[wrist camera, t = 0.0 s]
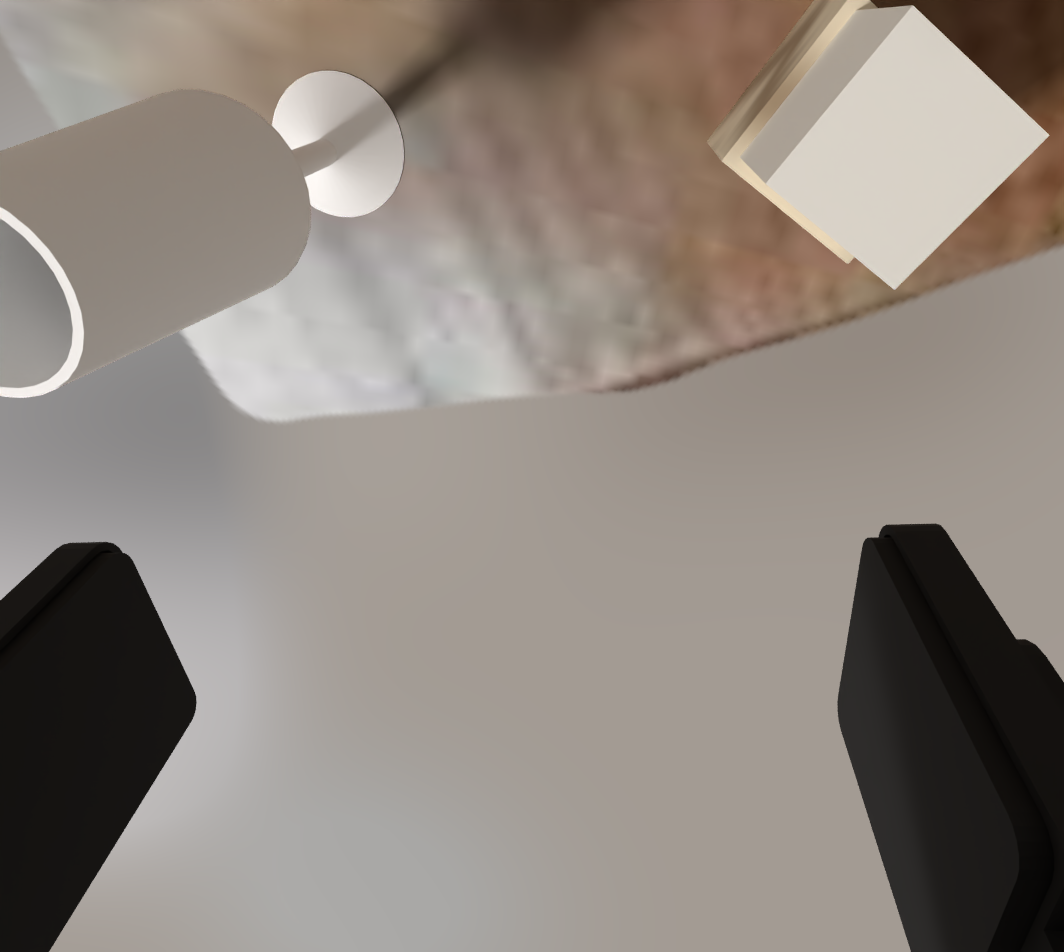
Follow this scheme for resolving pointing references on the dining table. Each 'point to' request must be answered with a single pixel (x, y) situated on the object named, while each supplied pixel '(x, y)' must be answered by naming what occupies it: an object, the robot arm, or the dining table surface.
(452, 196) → the dining table surface
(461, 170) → the dining table surface
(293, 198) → the champagne flute
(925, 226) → the tower top
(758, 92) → the tower base
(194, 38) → the dining table surface
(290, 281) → the dining table surface
